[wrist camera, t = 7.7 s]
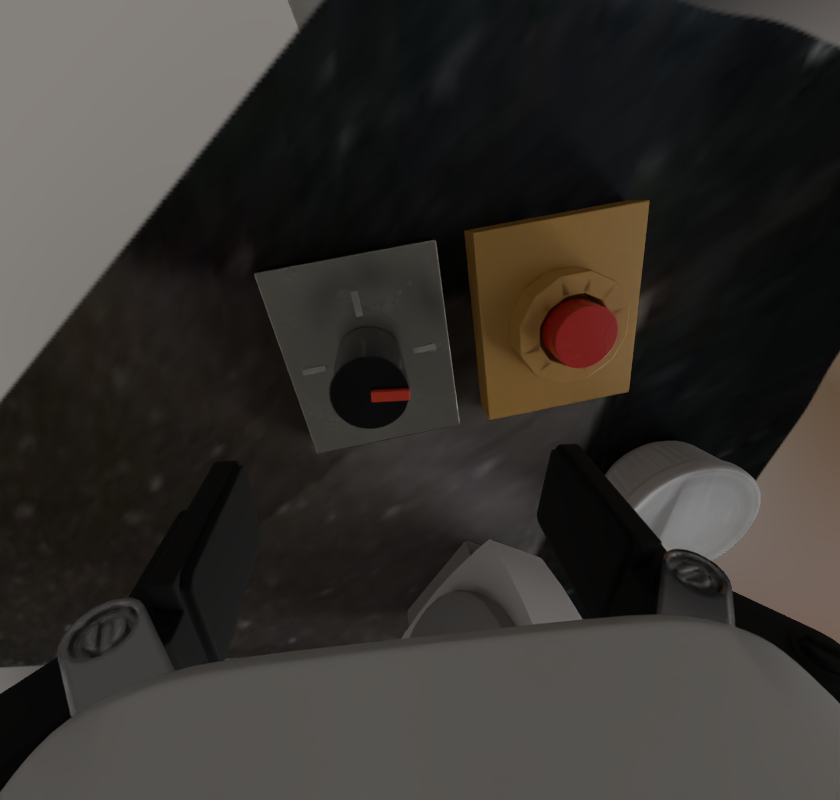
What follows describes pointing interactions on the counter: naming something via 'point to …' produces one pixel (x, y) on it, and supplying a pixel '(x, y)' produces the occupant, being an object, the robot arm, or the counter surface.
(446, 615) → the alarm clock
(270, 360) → the counter surface
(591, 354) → the press knob
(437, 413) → the dial plate
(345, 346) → the dial
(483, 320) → the knob block
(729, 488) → the ramekin
